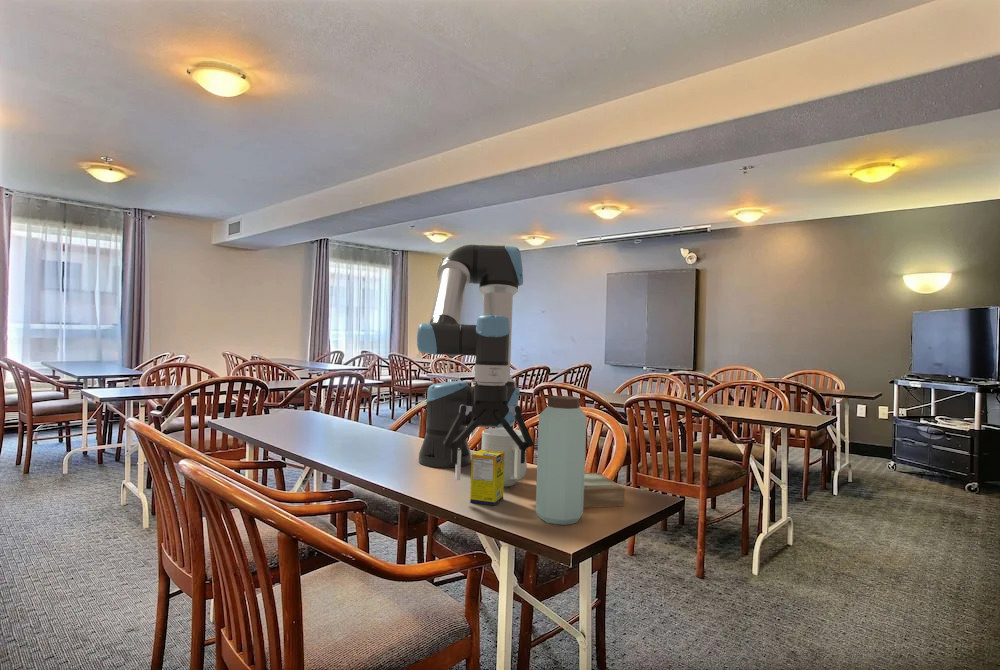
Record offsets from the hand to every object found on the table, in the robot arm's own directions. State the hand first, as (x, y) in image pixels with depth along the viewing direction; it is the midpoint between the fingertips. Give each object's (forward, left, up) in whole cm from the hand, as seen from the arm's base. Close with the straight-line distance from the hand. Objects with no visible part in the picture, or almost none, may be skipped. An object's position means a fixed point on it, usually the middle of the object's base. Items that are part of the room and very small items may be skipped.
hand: (487, 478), depth 124 cm
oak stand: (0, +23, -5) cm, 24 cm away
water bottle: (+13, +13, -5) cm, 19 cm away
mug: (-13, +7, -5) cm, 16 cm away
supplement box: (0, 0, -5) cm, 5 cm away
